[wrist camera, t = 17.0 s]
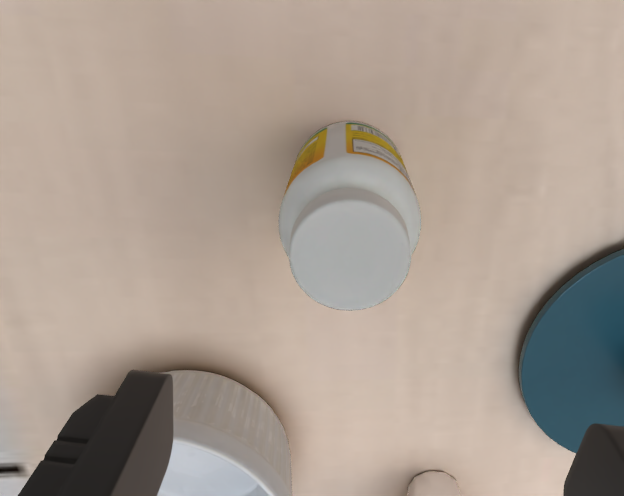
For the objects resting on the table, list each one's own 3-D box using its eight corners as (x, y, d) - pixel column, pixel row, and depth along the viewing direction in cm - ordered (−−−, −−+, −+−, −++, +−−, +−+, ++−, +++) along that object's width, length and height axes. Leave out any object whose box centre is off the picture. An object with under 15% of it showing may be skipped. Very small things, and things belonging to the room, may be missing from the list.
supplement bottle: (393, 108, 24) (424, 163, 15) (409, 215, 26) (444, 315, 18) (281, 132, 25) (250, 196, 16) (305, 233, 27) (289, 339, 18)
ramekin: (66, 359, 31) (-4, 448, 25) (283, 337, 30) (268, 425, 23) (130, 514, 36) (86, 620, 30) (317, 502, 35) (312, 610, 29)
